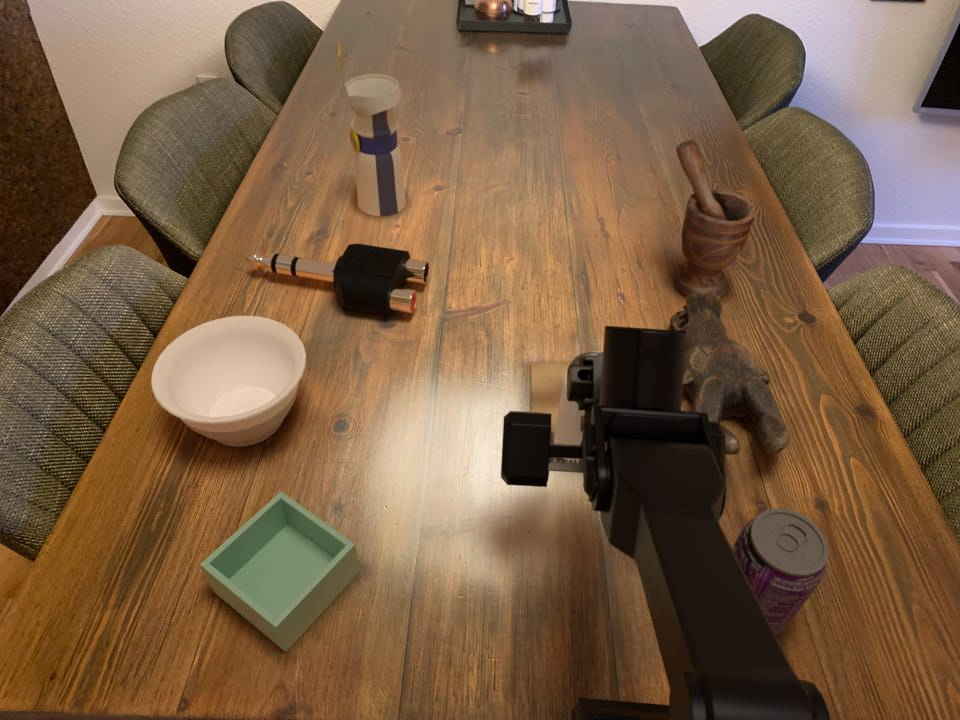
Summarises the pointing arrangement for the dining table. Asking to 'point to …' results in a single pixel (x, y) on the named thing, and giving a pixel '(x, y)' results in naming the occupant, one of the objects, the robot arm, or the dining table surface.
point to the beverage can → (782, 562)
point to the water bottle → (376, 143)
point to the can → (569, 415)
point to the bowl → (231, 378)
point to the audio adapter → (357, 276)
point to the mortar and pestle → (709, 228)
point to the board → (547, 389)
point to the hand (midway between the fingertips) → (596, 442)
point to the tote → (282, 569)
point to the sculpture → (726, 375)
